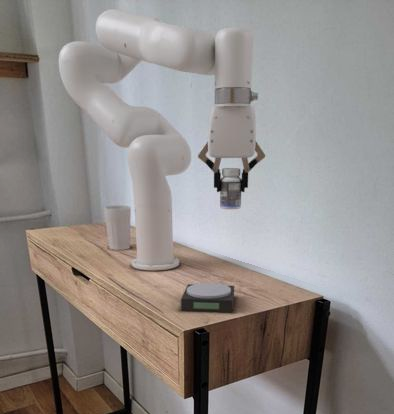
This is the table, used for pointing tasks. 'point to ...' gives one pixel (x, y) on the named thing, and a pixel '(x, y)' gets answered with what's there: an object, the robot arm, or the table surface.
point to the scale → (208, 297)
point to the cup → (118, 226)
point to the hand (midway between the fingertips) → (230, 190)
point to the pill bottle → (230, 189)
